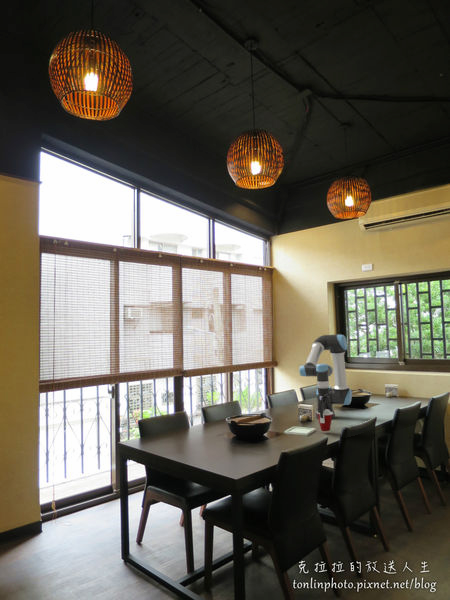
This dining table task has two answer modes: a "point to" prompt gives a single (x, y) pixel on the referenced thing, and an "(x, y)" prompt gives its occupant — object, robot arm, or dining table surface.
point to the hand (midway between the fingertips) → (325, 421)
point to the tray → (300, 430)
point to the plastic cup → (326, 420)
